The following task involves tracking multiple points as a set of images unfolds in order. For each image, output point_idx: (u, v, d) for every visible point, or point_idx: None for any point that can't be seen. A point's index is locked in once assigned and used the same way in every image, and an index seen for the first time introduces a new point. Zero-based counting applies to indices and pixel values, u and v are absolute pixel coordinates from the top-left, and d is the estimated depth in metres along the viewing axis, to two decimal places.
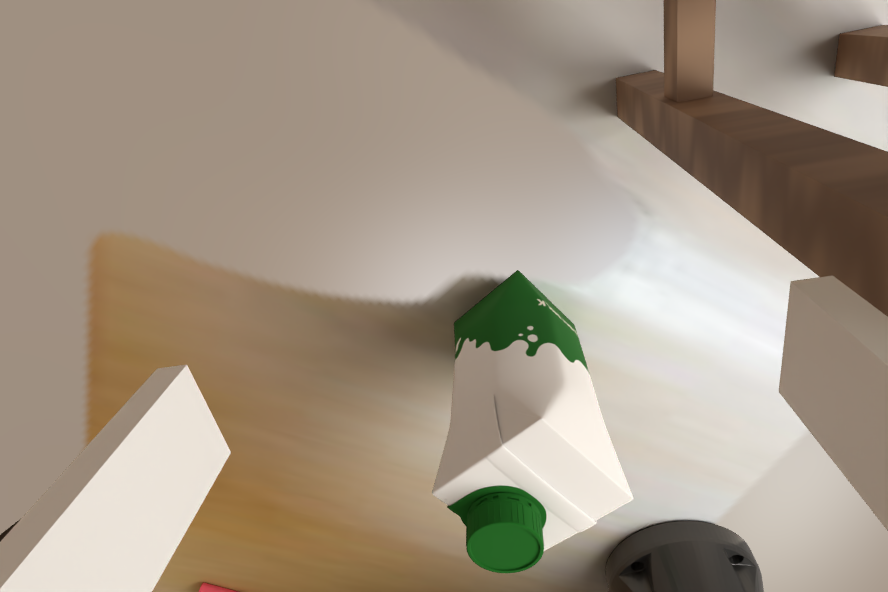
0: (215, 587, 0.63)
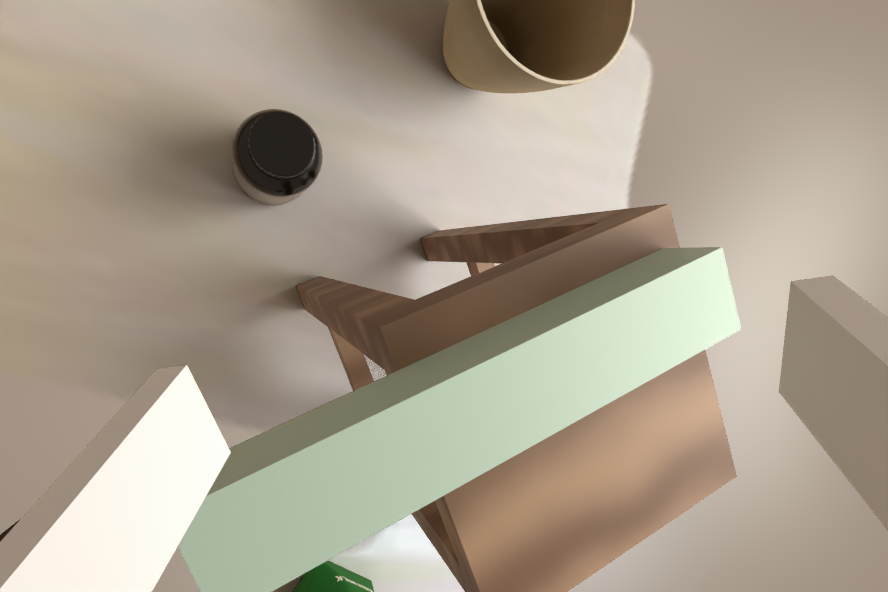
0: None
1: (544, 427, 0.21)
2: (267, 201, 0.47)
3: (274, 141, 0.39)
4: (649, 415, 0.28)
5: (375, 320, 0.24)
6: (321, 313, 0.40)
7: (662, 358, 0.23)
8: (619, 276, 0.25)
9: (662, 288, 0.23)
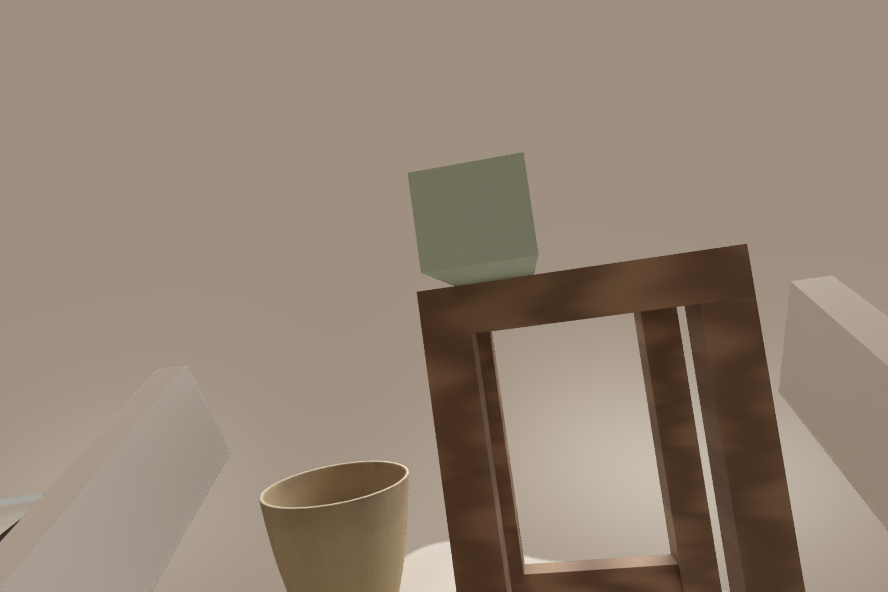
0: None
1: None
2: None
3: None
4: None
5: None
6: None
7: None
8: None
9: None
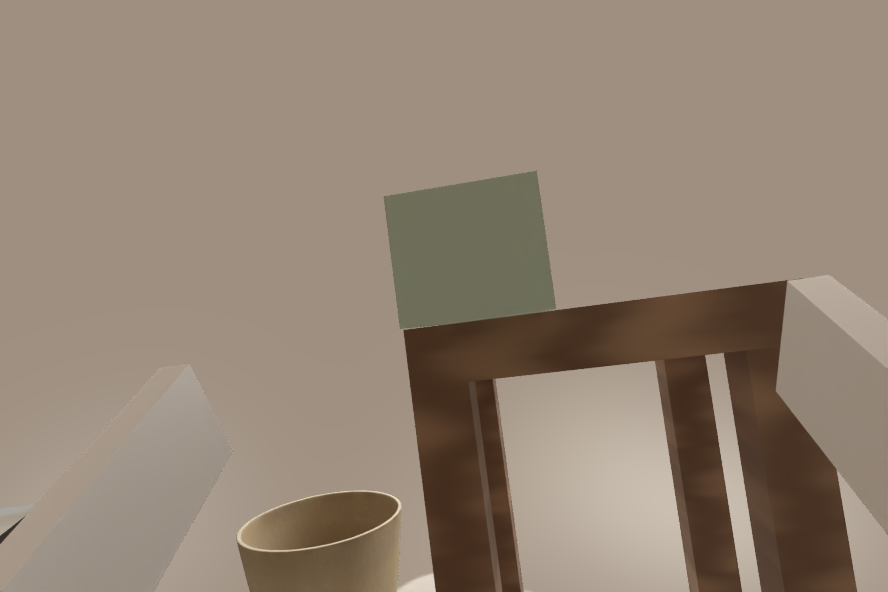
0: None
1: None
2: None
3: None
4: None
5: None
6: None
7: None
8: None
9: None
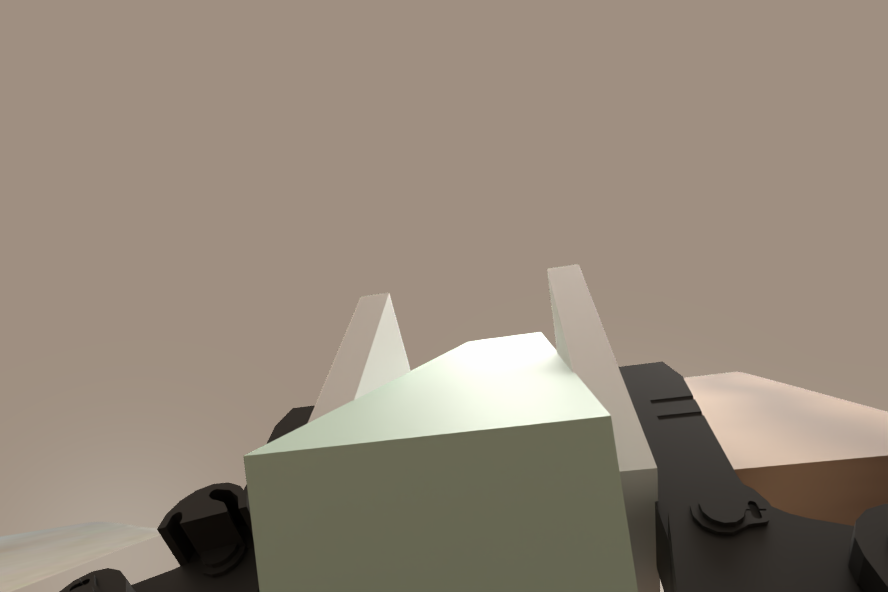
0: None
1: (537, 345, 0.18)
2: None
3: None
4: None
5: None
6: None
7: (530, 337, 0.25)
8: None
9: (470, 344, 0.26)
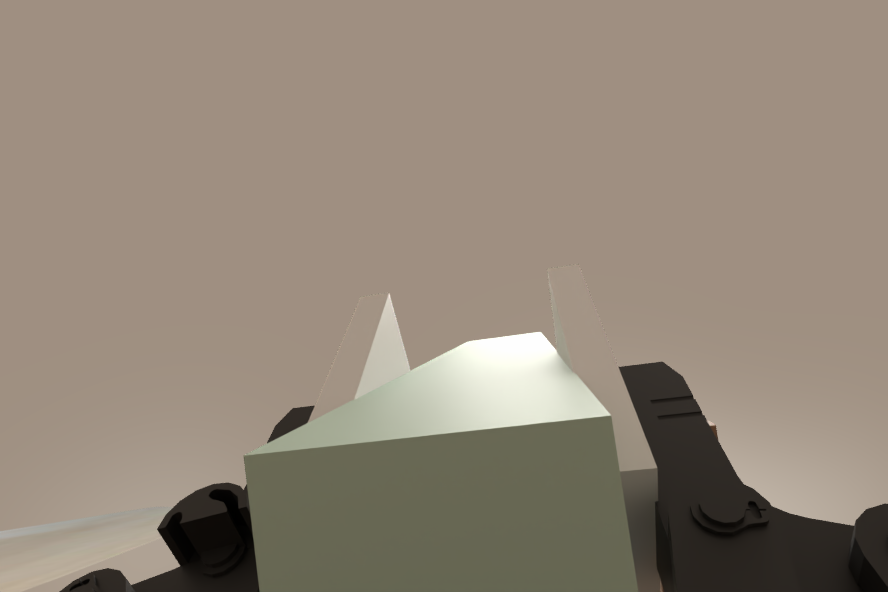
0: None
1: (537, 345, 0.18)
2: None
3: None
4: None
5: None
6: None
7: (530, 337, 0.25)
8: None
9: (470, 344, 0.26)
